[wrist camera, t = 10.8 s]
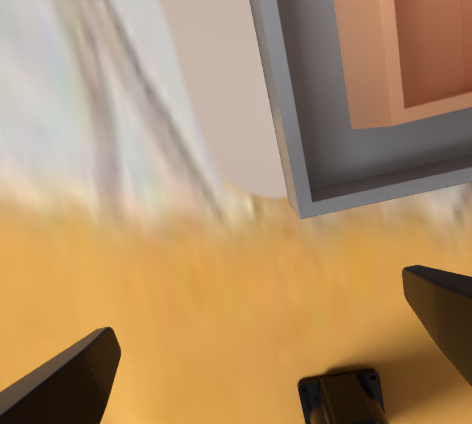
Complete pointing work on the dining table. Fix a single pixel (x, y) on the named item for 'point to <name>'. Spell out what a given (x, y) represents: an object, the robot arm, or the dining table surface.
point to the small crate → (404, 59)
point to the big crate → (344, 121)
